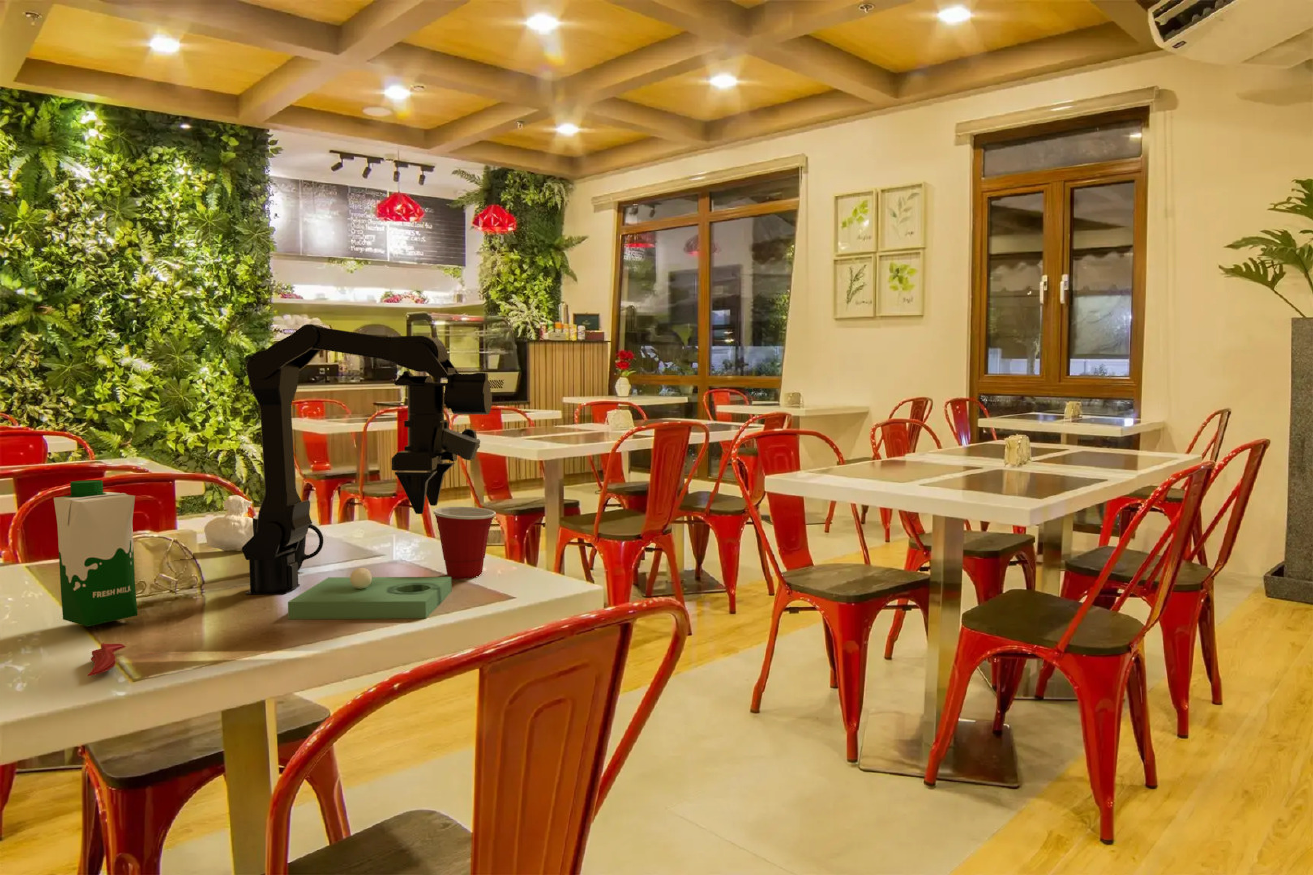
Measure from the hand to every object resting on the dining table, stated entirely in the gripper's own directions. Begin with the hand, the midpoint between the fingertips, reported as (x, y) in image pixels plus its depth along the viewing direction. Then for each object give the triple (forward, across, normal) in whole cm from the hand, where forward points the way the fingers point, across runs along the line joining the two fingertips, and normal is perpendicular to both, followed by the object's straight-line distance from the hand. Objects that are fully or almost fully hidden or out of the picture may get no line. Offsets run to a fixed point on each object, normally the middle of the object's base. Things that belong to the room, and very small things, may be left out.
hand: (426, 509), depth 145 cm
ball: (+9, -9, +8) cm, 15 cm away
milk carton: (+14, -16, +44) cm, 49 cm away
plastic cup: (+14, +10, -4) cm, 17 cm away
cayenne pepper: (+15, -34, +32) cm, 49 cm away
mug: (+14, +16, +29) cm, 36 cm away
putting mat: (+14, -9, +6) cm, 17 cm away
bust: (+14, +36, +48) cm, 62 cm away
